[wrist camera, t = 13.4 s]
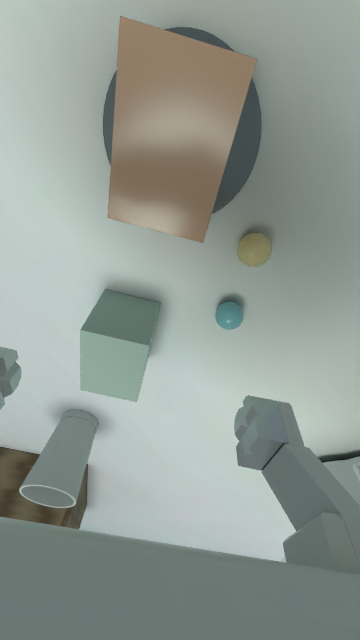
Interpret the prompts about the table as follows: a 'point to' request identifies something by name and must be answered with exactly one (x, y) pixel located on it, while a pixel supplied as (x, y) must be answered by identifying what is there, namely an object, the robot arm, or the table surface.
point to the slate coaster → (244, 138)
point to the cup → (62, 462)
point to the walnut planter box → (6, 501)
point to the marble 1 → (229, 315)
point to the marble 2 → (254, 249)
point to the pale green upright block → (117, 345)
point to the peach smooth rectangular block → (172, 127)
